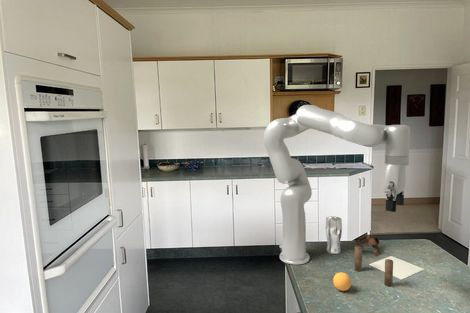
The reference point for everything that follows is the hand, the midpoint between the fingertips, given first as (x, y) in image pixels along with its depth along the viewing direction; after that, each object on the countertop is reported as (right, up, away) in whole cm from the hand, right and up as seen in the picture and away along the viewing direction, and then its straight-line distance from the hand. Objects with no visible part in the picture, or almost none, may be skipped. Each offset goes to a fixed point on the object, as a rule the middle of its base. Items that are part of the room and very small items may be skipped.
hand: (394, 207), depth 114 cm
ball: (-20, -25, -3) cm, 32 cm away
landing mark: (+7, -25, +12) cm, 29 cm away
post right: (-2, -27, 0) cm, 27 cm away
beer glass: (-13, -24, +29) cm, 40 cm away
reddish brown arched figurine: (+2, -24, +28) cm, 37 cm away
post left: (-9, -26, +11) cm, 30 cm away
